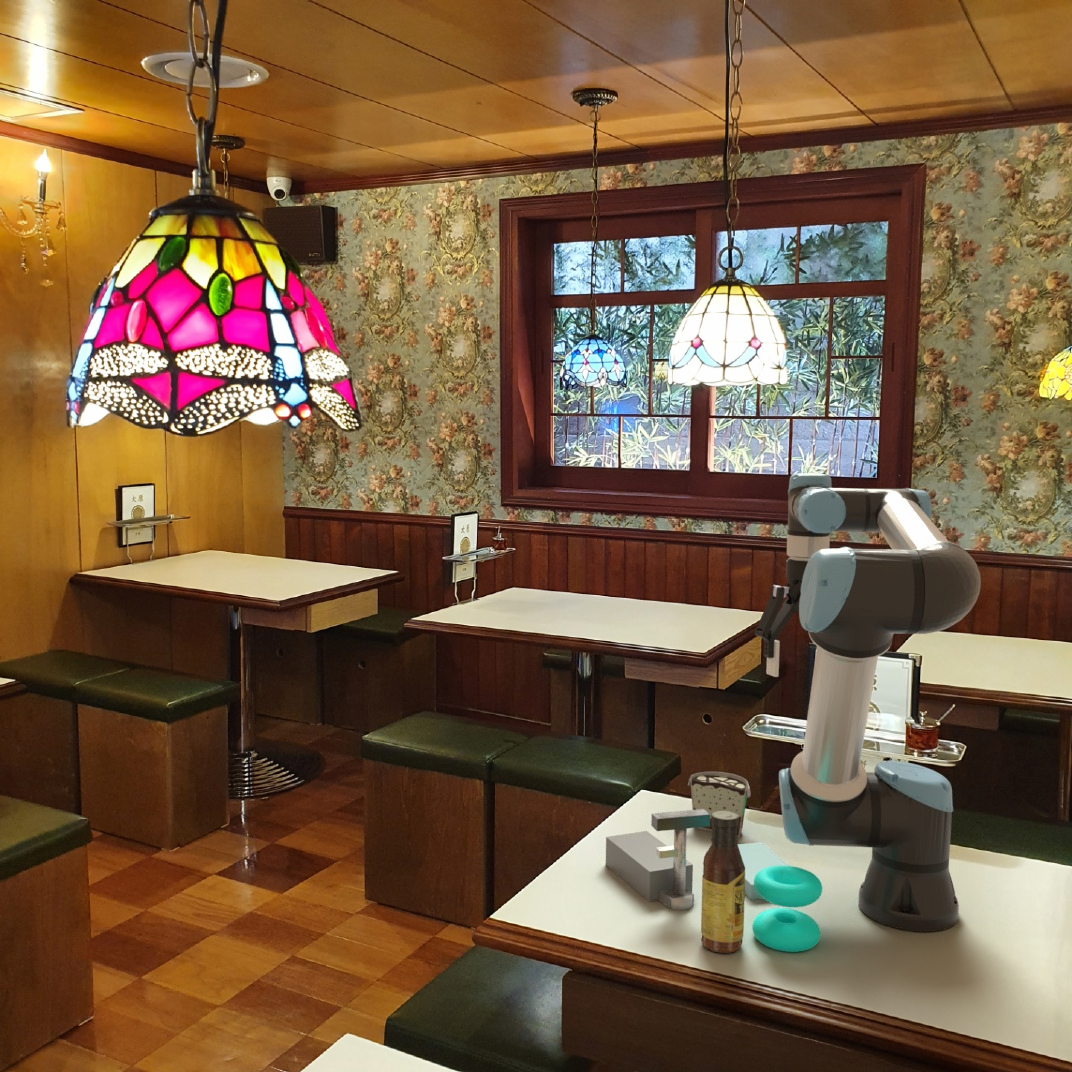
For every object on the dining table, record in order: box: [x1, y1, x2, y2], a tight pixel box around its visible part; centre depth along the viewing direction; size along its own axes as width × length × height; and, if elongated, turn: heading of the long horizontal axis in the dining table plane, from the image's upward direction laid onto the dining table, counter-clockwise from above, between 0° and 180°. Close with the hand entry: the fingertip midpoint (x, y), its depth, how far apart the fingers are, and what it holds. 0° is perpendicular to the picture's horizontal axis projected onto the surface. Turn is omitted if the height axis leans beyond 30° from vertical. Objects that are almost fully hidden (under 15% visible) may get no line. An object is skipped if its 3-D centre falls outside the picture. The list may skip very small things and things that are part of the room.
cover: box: [737, 841, 790, 900], centre depth 187 cm, size 17×10×3 cm, turn 13°
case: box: [605, 830, 695, 911], centre depth 183 cm, size 21×8×5 cm, turn 23°
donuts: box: [751, 865, 823, 953], centre depth 164 cm, size 10×10×10 cm
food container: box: [687, 771, 752, 838], centre depth 209 cm, size 12×6×10 cm, turn 58°
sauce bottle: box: [700, 811, 746, 954], centre depth 161 cm, size 6×6×20 cm
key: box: [650, 809, 710, 895], centre depth 175 cm, size 9×2×13 cm, turn 105°
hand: (803, 672), depth 201 cm, fingers open, 13 cm apart
